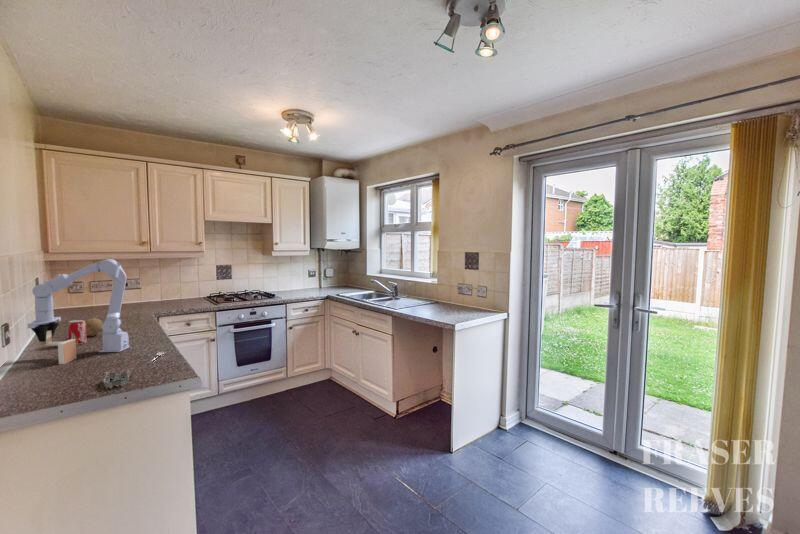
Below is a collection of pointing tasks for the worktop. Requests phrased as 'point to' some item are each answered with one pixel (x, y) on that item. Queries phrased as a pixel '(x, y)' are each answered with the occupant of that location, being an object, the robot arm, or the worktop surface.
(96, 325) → the natural sponge
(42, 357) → the worktop surface
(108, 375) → the egg carton
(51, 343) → the beige l-shaped block
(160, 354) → the fork
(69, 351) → the tile
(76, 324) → the red and white box
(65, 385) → the worktop surface
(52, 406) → the worktop surface
